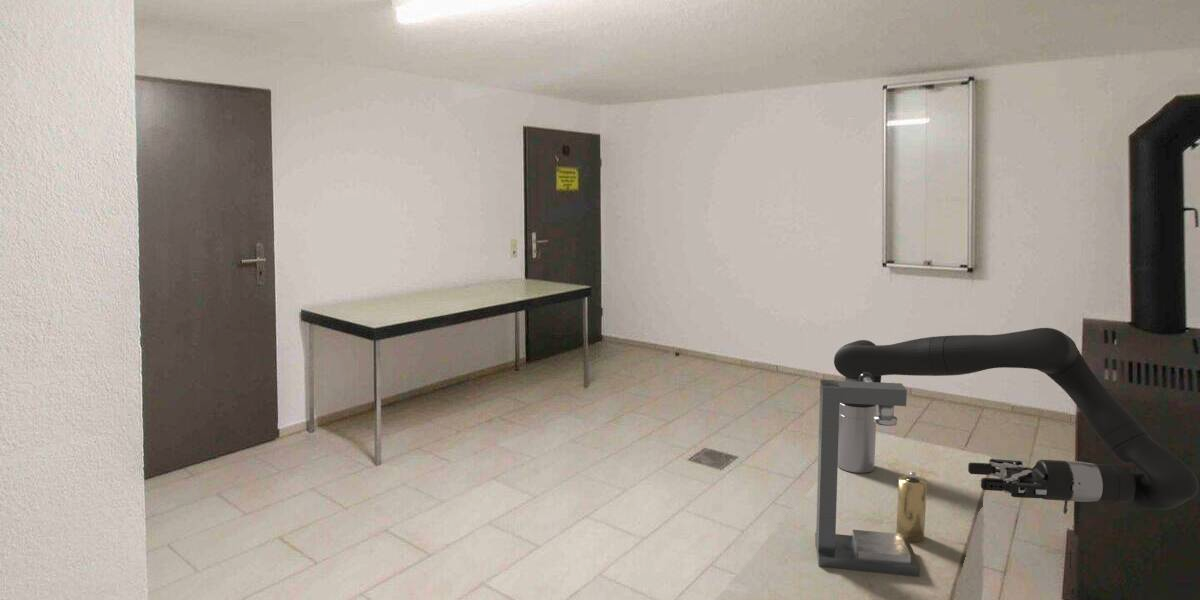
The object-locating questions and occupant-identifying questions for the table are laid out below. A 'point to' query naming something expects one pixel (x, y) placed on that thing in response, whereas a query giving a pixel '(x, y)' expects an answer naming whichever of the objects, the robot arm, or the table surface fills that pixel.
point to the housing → (911, 508)
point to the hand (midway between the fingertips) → (974, 475)
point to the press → (833, 548)
